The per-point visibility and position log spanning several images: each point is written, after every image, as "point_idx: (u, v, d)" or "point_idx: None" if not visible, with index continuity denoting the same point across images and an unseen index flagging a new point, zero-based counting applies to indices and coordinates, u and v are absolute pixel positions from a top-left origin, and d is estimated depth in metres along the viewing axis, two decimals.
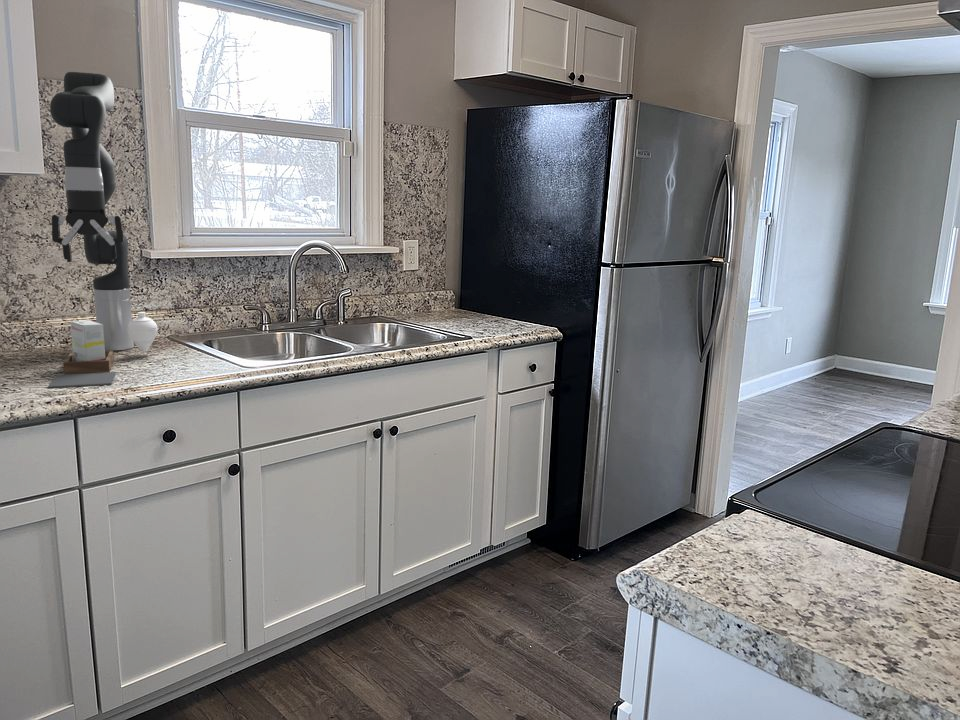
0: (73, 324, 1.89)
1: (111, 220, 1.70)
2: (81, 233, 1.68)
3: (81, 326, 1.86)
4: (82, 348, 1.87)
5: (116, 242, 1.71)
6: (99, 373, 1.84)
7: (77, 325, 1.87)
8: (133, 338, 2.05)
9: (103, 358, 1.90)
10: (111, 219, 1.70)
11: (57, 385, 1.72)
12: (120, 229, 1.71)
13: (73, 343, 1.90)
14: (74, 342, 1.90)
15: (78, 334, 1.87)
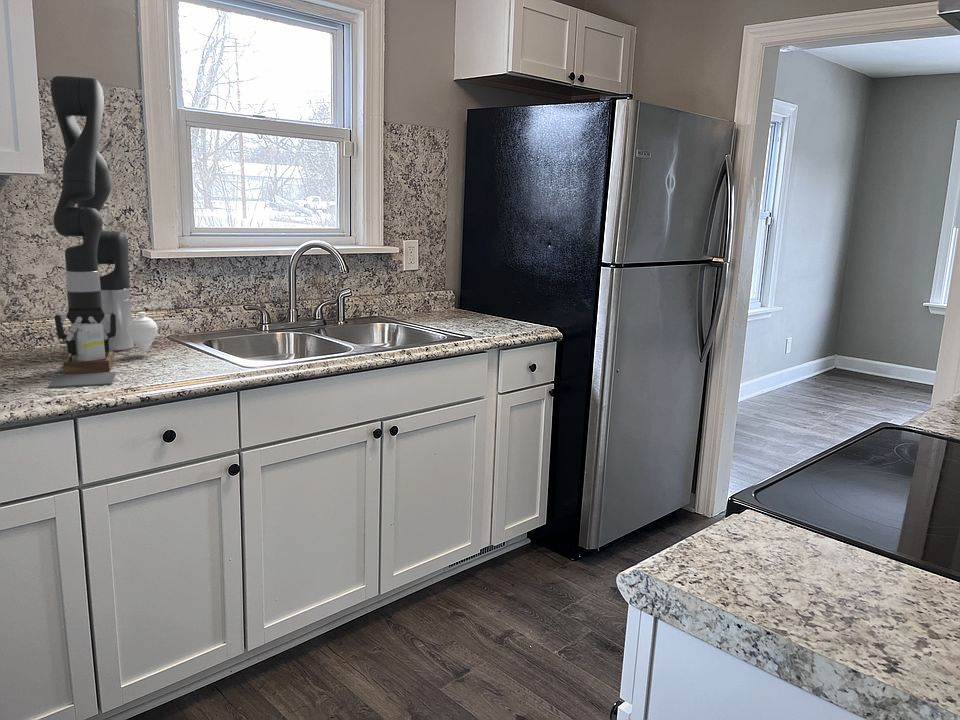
0: None
1: (107, 316, 1.90)
2: None
3: (81, 326, 1.86)
4: (82, 348, 1.87)
5: (109, 336, 1.91)
6: (99, 373, 1.84)
7: None
8: (133, 338, 2.05)
9: (103, 358, 1.90)
10: (107, 316, 1.90)
11: (57, 385, 1.72)
12: (114, 325, 1.90)
13: None
14: (74, 342, 1.90)
15: (78, 334, 1.87)
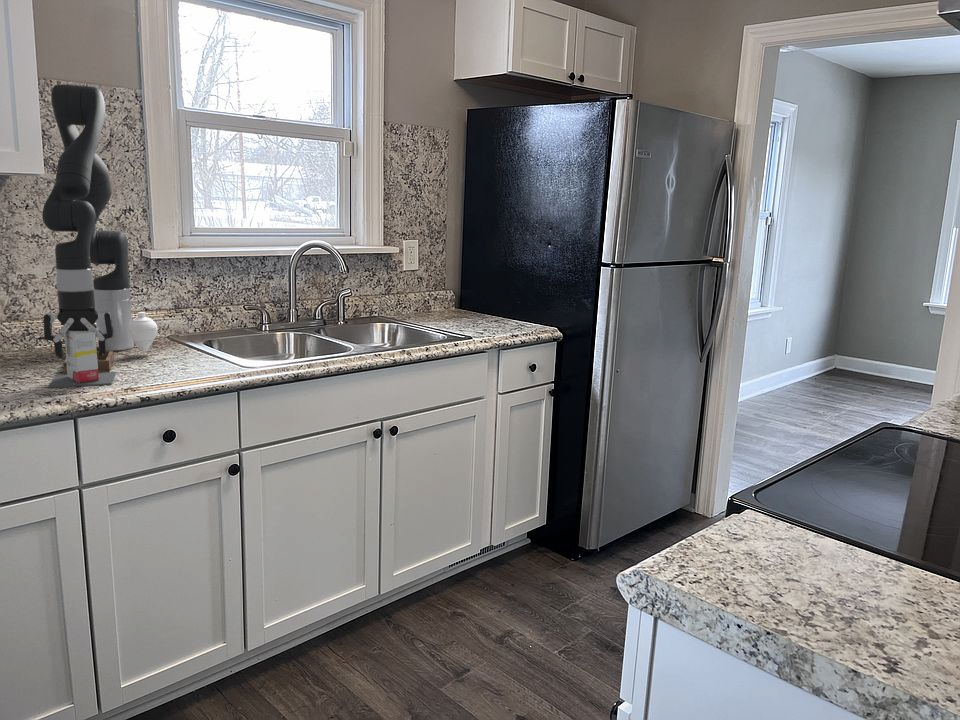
0: (66, 331, 1.77)
1: (101, 317, 1.77)
2: (72, 330, 1.75)
3: (71, 334, 1.73)
4: (73, 357, 1.74)
5: (106, 337, 1.78)
6: (99, 373, 1.84)
7: (69, 332, 1.75)
8: (133, 338, 2.05)
9: (95, 368, 1.77)
10: (101, 316, 1.77)
11: (57, 385, 1.72)
12: (110, 325, 1.77)
13: (66, 351, 1.78)
14: (67, 350, 1.78)
15: (70, 342, 1.75)
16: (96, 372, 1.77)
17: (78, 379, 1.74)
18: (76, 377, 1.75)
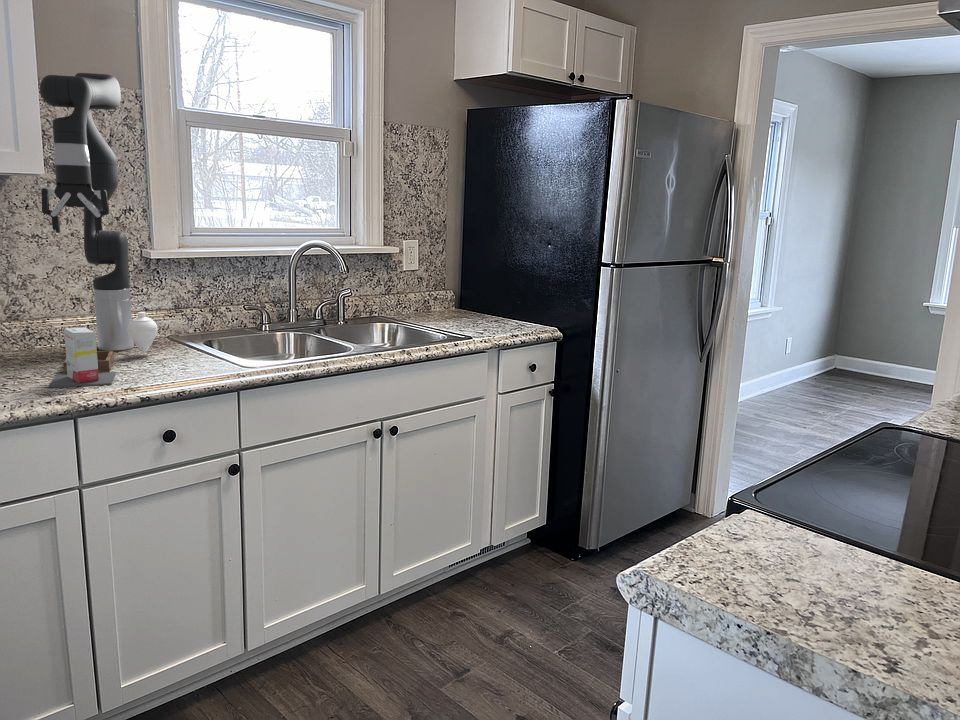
0: (66, 331, 1.77)
1: (97, 194, 1.82)
2: (69, 205, 1.80)
3: (72, 334, 1.73)
4: (73, 357, 1.74)
5: (102, 214, 1.83)
6: (99, 373, 1.84)
7: (69, 332, 1.75)
8: (133, 338, 2.05)
9: (95, 368, 1.77)
10: (97, 193, 1.82)
11: (57, 385, 1.72)
12: (105, 202, 1.82)
13: (66, 351, 1.78)
14: (67, 350, 1.78)
15: (70, 342, 1.75)
16: (96, 372, 1.77)
17: (78, 379, 1.74)
18: (76, 377, 1.75)
